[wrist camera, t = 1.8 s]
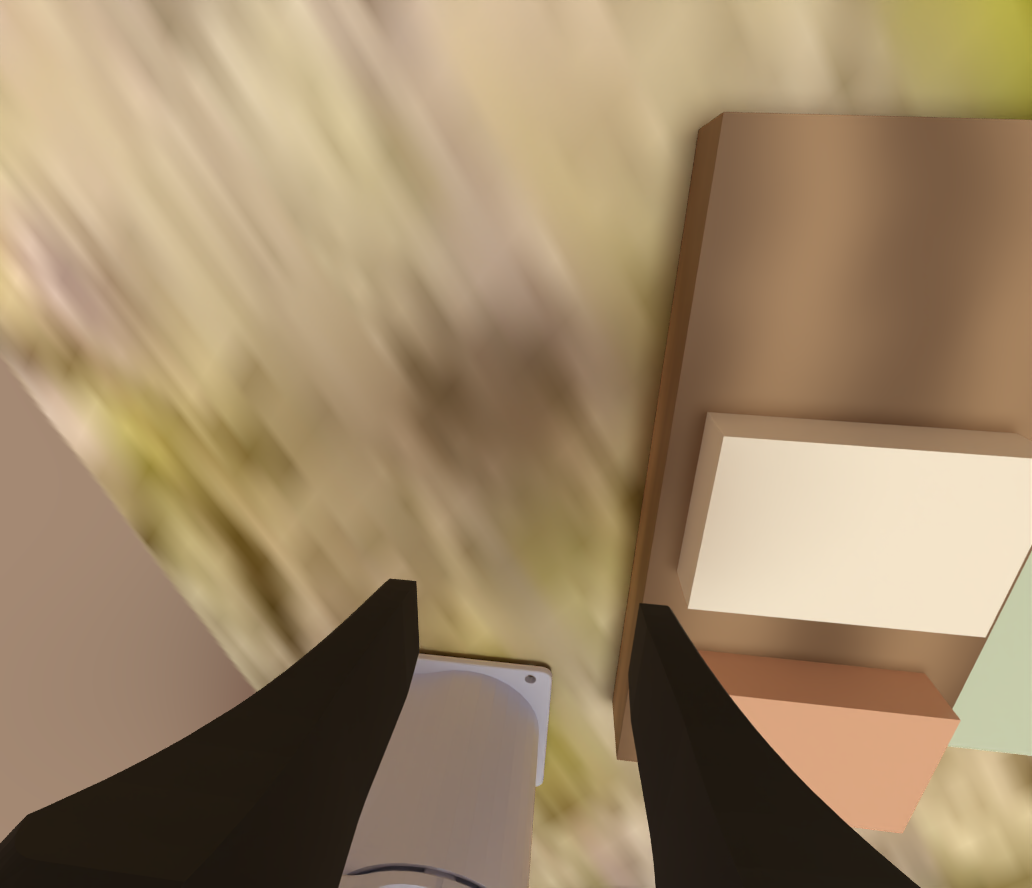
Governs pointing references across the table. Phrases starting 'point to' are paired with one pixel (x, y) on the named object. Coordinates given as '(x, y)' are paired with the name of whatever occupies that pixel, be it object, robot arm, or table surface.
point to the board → (837, 332)
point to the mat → (1001, 681)
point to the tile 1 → (857, 522)
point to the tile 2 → (845, 730)
